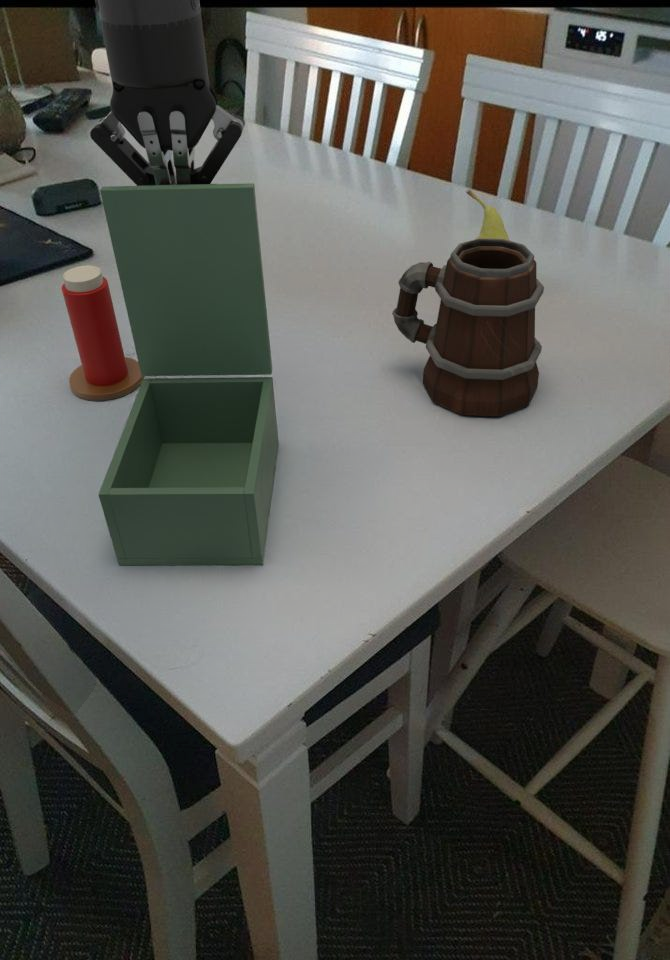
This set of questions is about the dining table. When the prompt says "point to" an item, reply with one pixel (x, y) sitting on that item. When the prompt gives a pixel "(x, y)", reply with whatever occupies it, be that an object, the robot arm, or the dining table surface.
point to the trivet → (106, 392)
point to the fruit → (490, 221)
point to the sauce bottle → (94, 325)
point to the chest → (194, 473)
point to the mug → (477, 326)
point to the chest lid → (191, 277)
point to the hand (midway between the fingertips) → (184, 232)
